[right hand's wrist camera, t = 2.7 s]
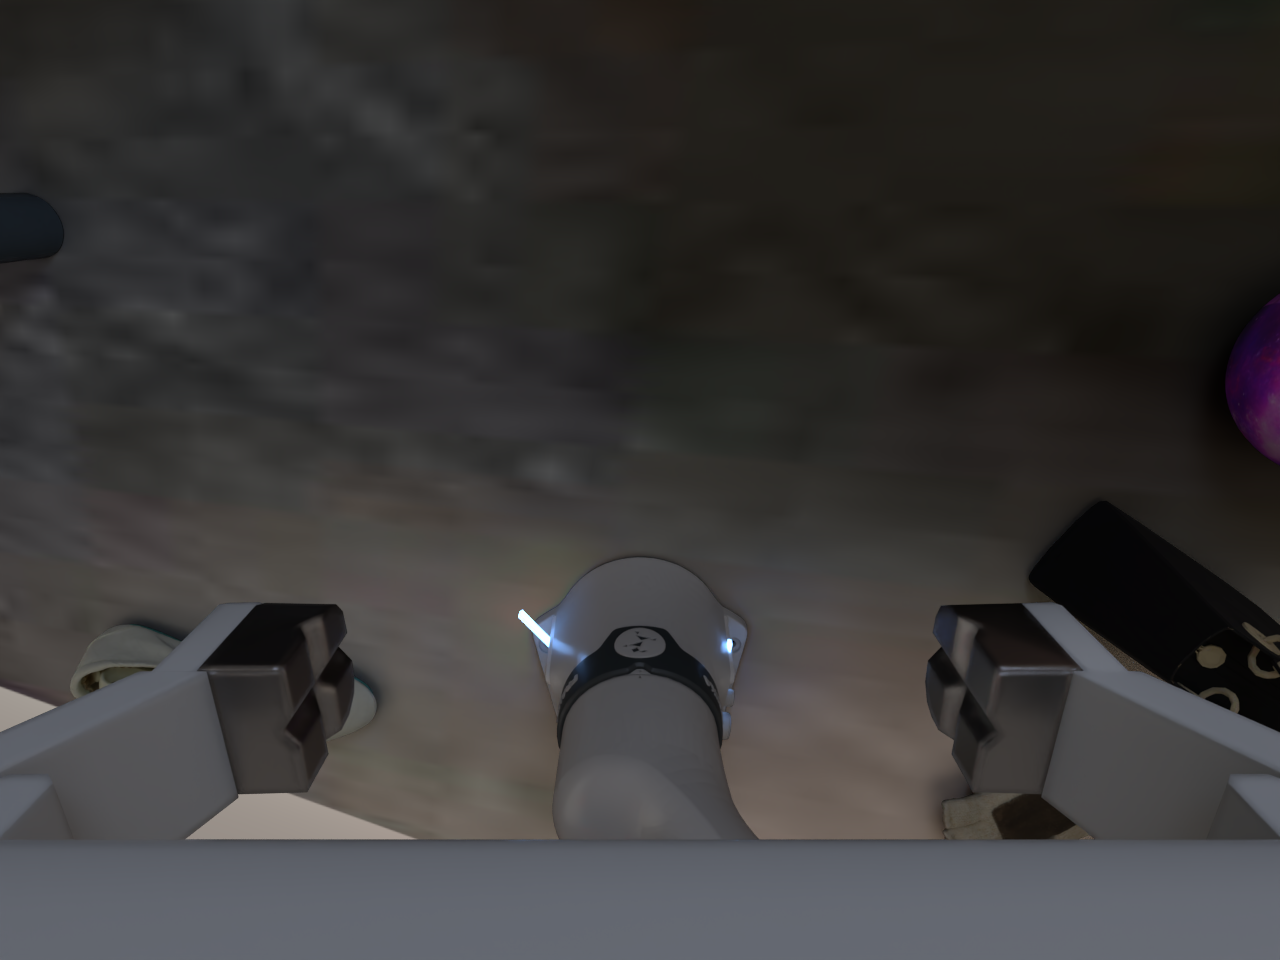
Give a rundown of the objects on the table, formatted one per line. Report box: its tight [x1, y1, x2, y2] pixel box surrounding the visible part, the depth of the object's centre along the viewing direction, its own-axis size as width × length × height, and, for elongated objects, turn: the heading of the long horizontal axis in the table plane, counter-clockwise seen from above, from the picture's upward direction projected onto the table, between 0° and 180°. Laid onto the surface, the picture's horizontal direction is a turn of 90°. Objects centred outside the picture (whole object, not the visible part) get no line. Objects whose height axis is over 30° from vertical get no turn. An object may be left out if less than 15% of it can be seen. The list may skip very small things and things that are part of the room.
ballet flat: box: [70, 624, 377, 741], centre depth 64 cm, size 8×24×8 cm, turn 72°
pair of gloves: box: [942, 790, 1089, 840], centre depth 73 cm, size 30×26×5 cm
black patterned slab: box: [1029, 501, 1280, 732], centre depth 53 cm, size 21×9×25 cm, turn 57°
